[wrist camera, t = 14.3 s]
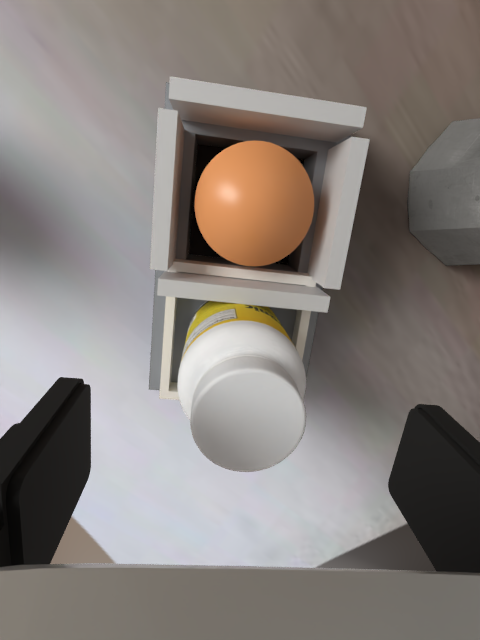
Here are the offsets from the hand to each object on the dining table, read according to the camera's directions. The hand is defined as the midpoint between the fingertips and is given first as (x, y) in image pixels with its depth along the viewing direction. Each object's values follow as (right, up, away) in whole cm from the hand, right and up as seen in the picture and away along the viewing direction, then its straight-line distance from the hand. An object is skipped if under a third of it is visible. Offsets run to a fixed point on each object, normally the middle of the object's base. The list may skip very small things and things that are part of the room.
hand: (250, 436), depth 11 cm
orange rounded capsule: (0, +10, +12) cm, 15 cm away
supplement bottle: (-1, +3, +11) cm, 12 cm away
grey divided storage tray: (0, +7, +13) cm, 15 cm away
